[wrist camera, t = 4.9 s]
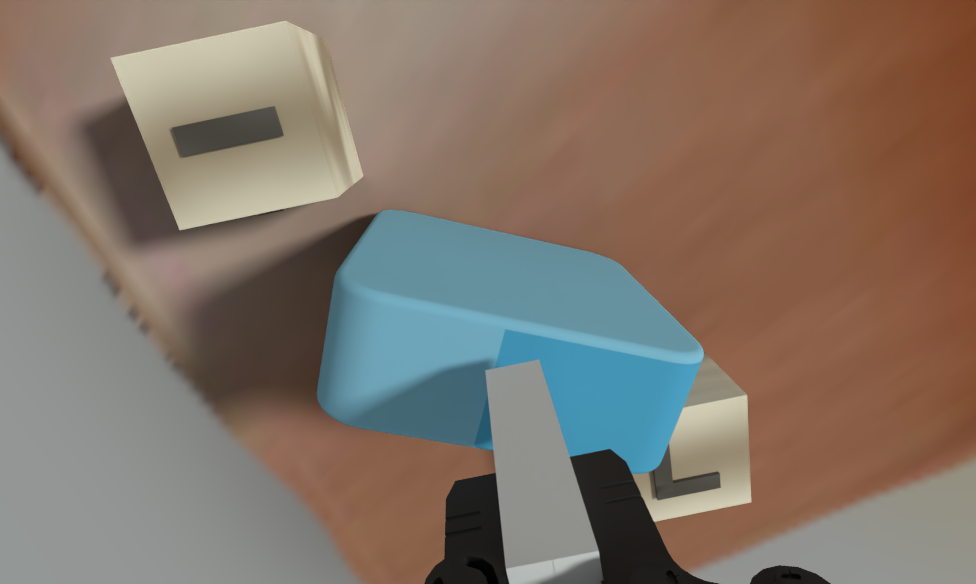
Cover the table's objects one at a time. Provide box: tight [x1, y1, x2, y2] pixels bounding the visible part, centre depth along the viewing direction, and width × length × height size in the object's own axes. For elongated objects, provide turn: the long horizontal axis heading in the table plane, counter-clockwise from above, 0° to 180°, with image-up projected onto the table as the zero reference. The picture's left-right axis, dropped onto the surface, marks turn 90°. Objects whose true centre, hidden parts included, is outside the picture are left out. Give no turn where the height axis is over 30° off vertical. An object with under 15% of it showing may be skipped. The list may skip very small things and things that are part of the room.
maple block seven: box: [632, 351, 751, 522], centre depth 28 cm, size 6×6×6 cm
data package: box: [317, 210, 704, 474], centre depth 22 cm, size 12×4×12 cm, turn 77°
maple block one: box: [111, 21, 363, 230], centre depth 22 cm, size 6×6×6 cm
